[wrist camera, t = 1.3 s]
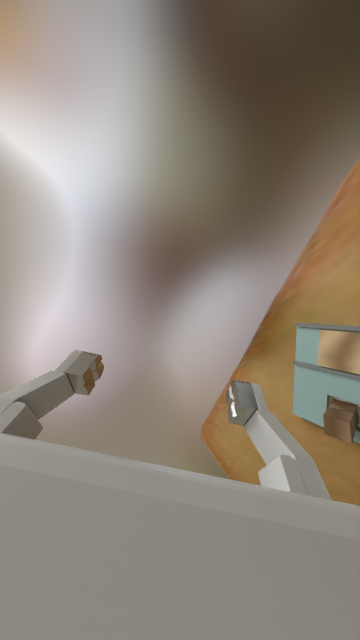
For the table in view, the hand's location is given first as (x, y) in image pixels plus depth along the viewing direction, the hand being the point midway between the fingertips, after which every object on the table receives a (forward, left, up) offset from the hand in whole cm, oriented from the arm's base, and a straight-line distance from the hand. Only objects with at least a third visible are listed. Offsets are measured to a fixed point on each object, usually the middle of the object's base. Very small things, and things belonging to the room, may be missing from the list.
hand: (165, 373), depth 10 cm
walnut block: (+9, +15, -43) cm, 47 cm away
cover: (+1, +6, -41) cm, 42 cm away
